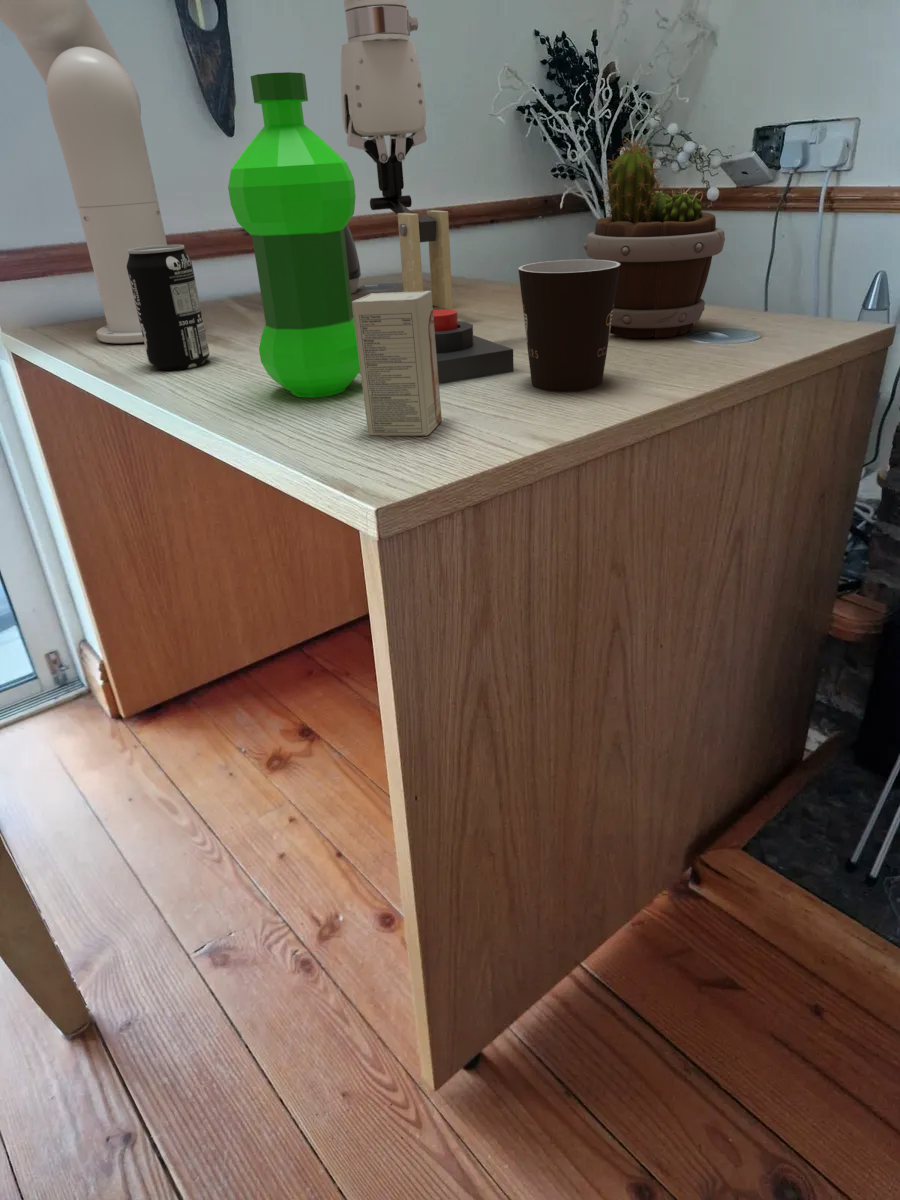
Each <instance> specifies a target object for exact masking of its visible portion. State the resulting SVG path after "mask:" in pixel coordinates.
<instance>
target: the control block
mask: <svg viewBox="0 0 900 1200" xmlns="http://www.w3.org/2000/svg"><path fill="white" fill-rule="evenodd" d="M457 321H458V328H457V329H454V330H448V331H435V342H436V355H437V367H438V380H439V385H441V384H448V383H453V382H459V381H464V380H465V381H466V380H471V379H477V378H483V377H489V376H494V375H500V374H501V375H502V374H507V373H512V372H514V370H515V369H514V366H515V365H514V348H511V347H508V346H505V345H502V344H500V343H497V342H494V341H491V340H488V339H485V338H482V337H480V336H477V335H474V324H472V323H470V322H466V321H461V320H460V321H459V320H457Z"/></svg>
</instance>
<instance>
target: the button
mask: <svg viewBox="0 0 900 1200" xmlns="http://www.w3.org/2000/svg"><path fill="white" fill-rule="evenodd" d="M433 318H434V330H435V331H448V330H454V329H457V328H458V321H459V320H458V311H457V310H455V309H444V308H441V309H433Z"/></svg>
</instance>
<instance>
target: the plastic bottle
mask: <svg viewBox="0 0 900 1200" xmlns="http://www.w3.org/2000/svg"><path fill="white" fill-rule="evenodd" d="M249 78H250V83H251V91H252V97H253V103H254V104H257V105H260V106H261V112H262V118H263V125H264V126H263V127H262V129H260V131H259V132H258V133H257V134H256V135H255V137H254V138H253V139H252V140H251V141H250V143H249V144H248V145H247V146H246V148H245V149H244V151H243V152H242V153H241V154H240V156H239V157H238V159H237V160H236V161H235V163H234V164H233V166H232V167H231V168H230V172H229V173H230V174H229V179H228V186H227V189H228V193H229V194H228V195H229V200H230V201H229V202H230V206H231V209H232V212H233V214H234V218H235V220H236V222H237V223H238V225H239V226H241V228H242V229H244V230H245V231H246V232H247V233H248V234H249V235H250V237H251V238H252V246H253V252H254V258H255V264H256V271H257V276H258V283H259V291H260V296H261V302H262V309H263V315H264V322H265V325H264V328H263V331H262V332H261V337H260V342H259V345H258V352H259V358H260V363H261V365H262V367H263V368H264V370H265V372H266V373H267V375H268V376H269V377H270V379H272V380H273V381H274V382H275V383H276V384H279V386H281V387H283V388H284V389H285V390H287V391H290V394H291V395H293V396H296V397H298V398H311V399H312V398H313V399H315V398H323V397H331V396H335V395H337V394H340V393H344V392H345V391H346V389H347V387H349V385H350V384H351V383H352V382H353V381H354V380H355V379H356V377H357V376H358V374H359V372H360V364H359V356H358V348H357V340H356V332H355V325H354V316H353V307H352V301H353V300H352V294H351V290H350V281H349V271H348V262H347V252H346V243H345V233H344V228H345V227H346V225H347V224H348V223H350V221H351V219H352V218H353V216H354V215H355V208H356V197H357V196H356V187H355V178H354V176H353V174H352V171H351V169H350V167H349V165H348V162H347V161H346V160H345V159H344V158H343V157H342V156H341V155H340V154H339V153H337V152H336V151H335V150H334V149H333V148H332V147H331V146H330V145H329V144H328V143H327V142H326V141H325V140H323V139H322V137H320V136H319V135H317V134H316V133H315V132H314V131H313V130H311V128H309V127H308V126H307V125H306V124H305V121H304V120H305V119H304V112H303V111H304V110H303V103H304V102H308V101H309V98H308V89H307V88H308V87H307V81H306V74H305V73H303V72H293V71H292V72H290V71H289V72H287V71H286V72H268V73H267V72H266V73H257V74H253V75H250V77H249ZM348 225H349V224H348Z"/></svg>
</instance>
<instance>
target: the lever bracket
mask: <svg viewBox="0 0 900 1200" xmlns="http://www.w3.org/2000/svg"><path fill="white" fill-rule="evenodd" d="M413 213H414V212H413ZM413 213H398V215H397V223H398V225H397V226H398V238H399V250H400V262H401V276H402V277H401V278H402V289H403V292H416V291H424V284H423V283H424V282H423V268H422V267H423V265H422V253H421V251H422V250H421V242H420V235H419V220H418V215H419V213H414V214H413ZM426 214H428V215H429V216H430V217H432V218H433V219H434V220H436V241H430V242H428V254H429V256H428V257H429V271H430V273H429V274H430V291H431V293H432V305H433V306H435V307H437V308H439V309H440V308H441V309H447V310H452V309H453V308H454V306H453V305H454V304H453V287H452V285H453V284H452V264H451V263H452V262H451V243H450V223H449V211H448V210H435V209H431V210H426Z"/></svg>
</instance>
